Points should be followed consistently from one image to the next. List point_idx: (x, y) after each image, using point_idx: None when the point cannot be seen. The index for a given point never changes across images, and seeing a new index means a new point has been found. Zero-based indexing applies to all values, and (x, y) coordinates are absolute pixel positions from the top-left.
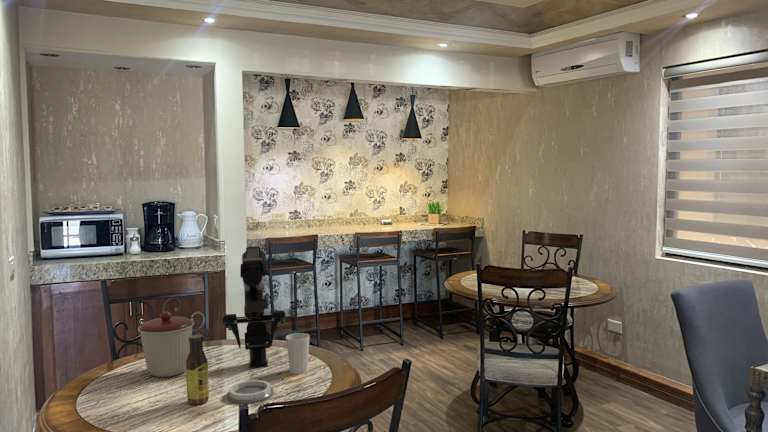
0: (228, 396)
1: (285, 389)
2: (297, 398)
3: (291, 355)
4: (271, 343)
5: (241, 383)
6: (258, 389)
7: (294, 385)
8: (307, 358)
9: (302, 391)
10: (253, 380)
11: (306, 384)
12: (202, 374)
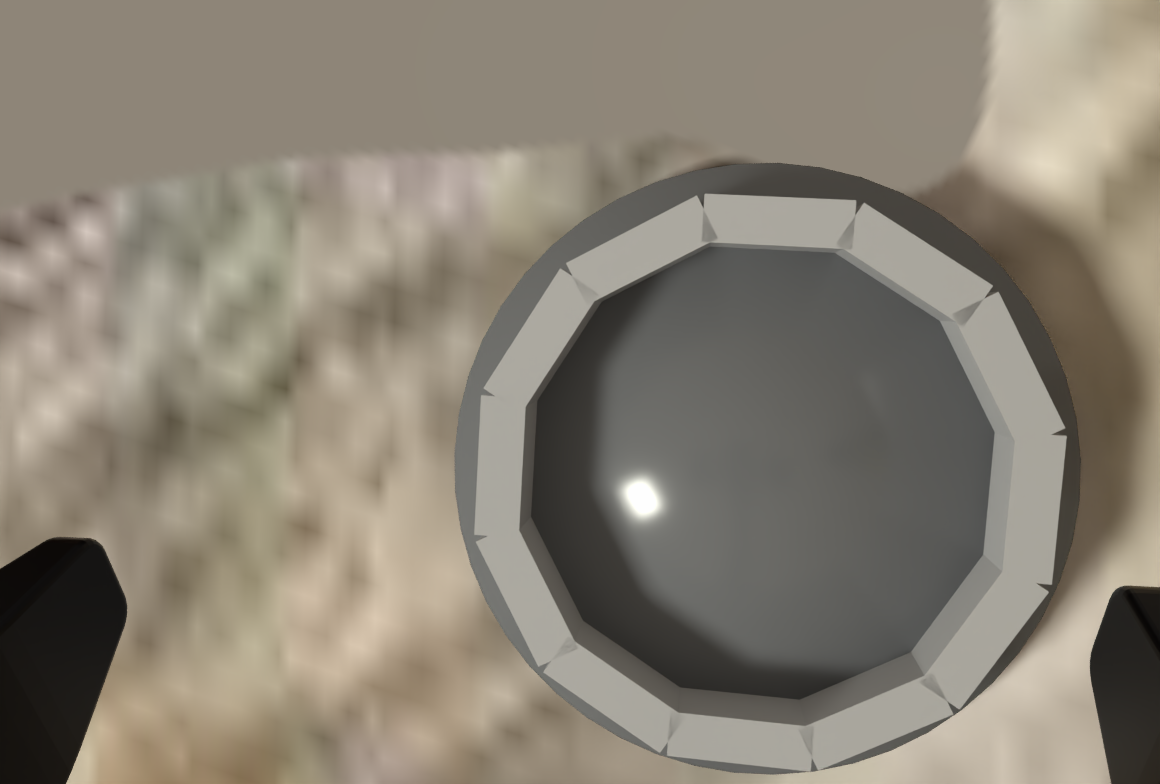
0: (1054, 404)
1: (319, 519)
2: (190, 184)
3: None
4: (31, 559)
5: (881, 692)
6: (646, 538)
7: (210, 618)
8: None
9: (126, 391)
10: (707, 747)
11: None
12: None
